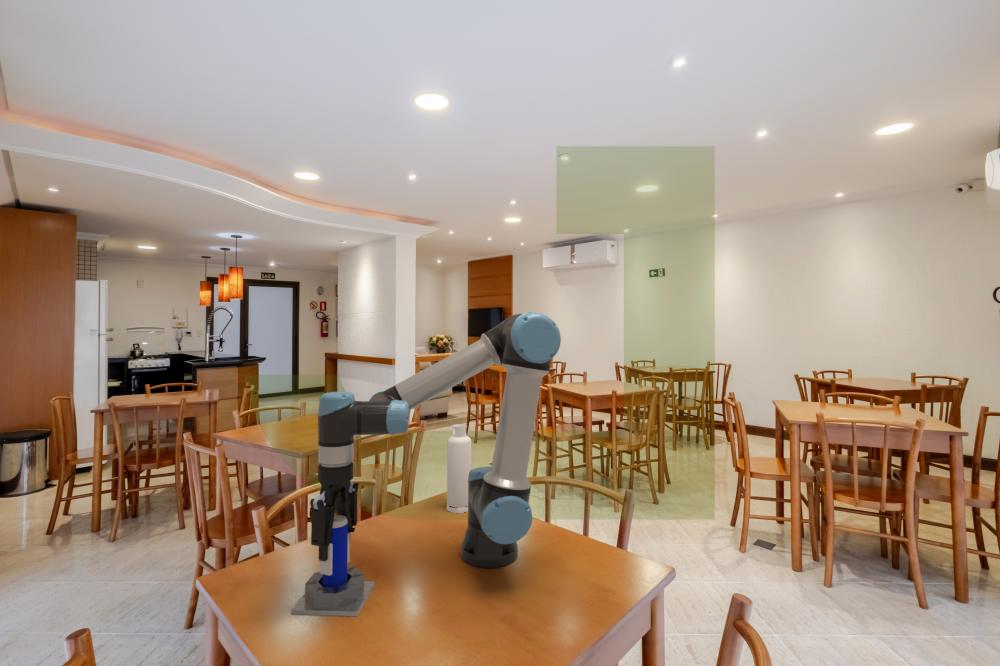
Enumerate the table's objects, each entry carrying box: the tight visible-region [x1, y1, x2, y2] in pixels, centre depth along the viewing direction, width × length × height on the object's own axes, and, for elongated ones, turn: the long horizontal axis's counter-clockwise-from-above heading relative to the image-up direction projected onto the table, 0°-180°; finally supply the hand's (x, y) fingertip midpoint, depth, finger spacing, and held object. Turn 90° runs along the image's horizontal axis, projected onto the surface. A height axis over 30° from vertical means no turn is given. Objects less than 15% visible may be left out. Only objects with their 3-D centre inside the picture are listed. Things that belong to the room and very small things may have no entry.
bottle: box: [446, 423, 472, 514], centre depth 160 cm, size 8×8×28 cm
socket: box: [290, 566, 375, 617], centre depth 106 cm, size 14×12×4 cm
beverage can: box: [323, 514, 348, 587], centre depth 106 cm, size 5×5×15 cm
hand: (334, 567), depth 106 cm, fingers closed on beverage can, 5 cm apart
